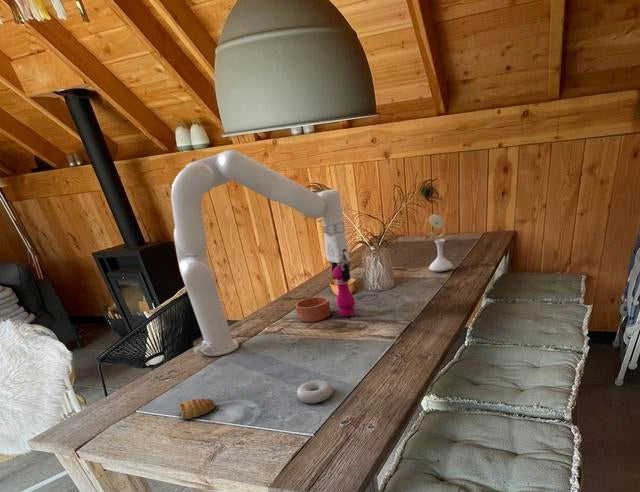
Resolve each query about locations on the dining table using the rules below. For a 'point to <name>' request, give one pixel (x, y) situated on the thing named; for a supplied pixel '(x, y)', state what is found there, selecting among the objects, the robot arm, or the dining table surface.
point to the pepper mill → (343, 294)
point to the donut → (314, 391)
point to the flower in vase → (439, 246)
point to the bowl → (313, 309)
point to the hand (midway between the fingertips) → (341, 278)
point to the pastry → (196, 407)
